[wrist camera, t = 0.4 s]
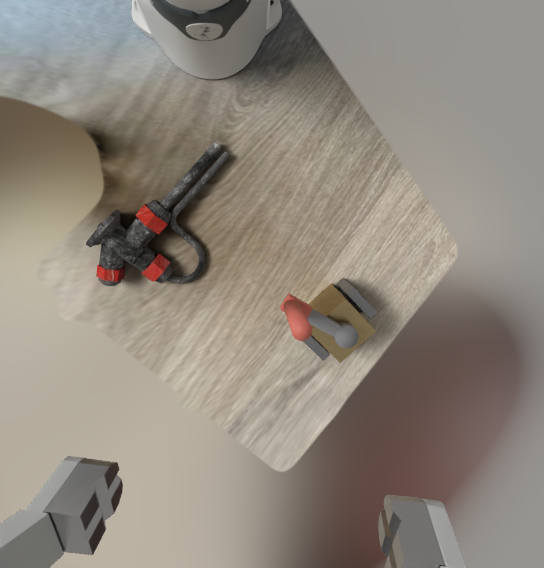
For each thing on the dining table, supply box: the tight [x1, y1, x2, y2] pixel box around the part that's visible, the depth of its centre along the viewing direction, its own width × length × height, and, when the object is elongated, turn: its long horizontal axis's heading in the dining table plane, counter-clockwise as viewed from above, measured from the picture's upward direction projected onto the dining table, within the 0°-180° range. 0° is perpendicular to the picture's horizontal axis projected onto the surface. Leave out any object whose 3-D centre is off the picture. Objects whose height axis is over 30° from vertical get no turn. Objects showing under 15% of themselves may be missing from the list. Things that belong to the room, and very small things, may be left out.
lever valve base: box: [303, 278, 377, 363], centre depth 51 cm, size 11×7×8 cm, turn 134°
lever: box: [280, 294, 359, 348], centre depth 42 cm, size 12×3×9 cm, turn 59°
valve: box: [86, 141, 230, 286], centre depth 48 cm, size 6×26×15 cm
